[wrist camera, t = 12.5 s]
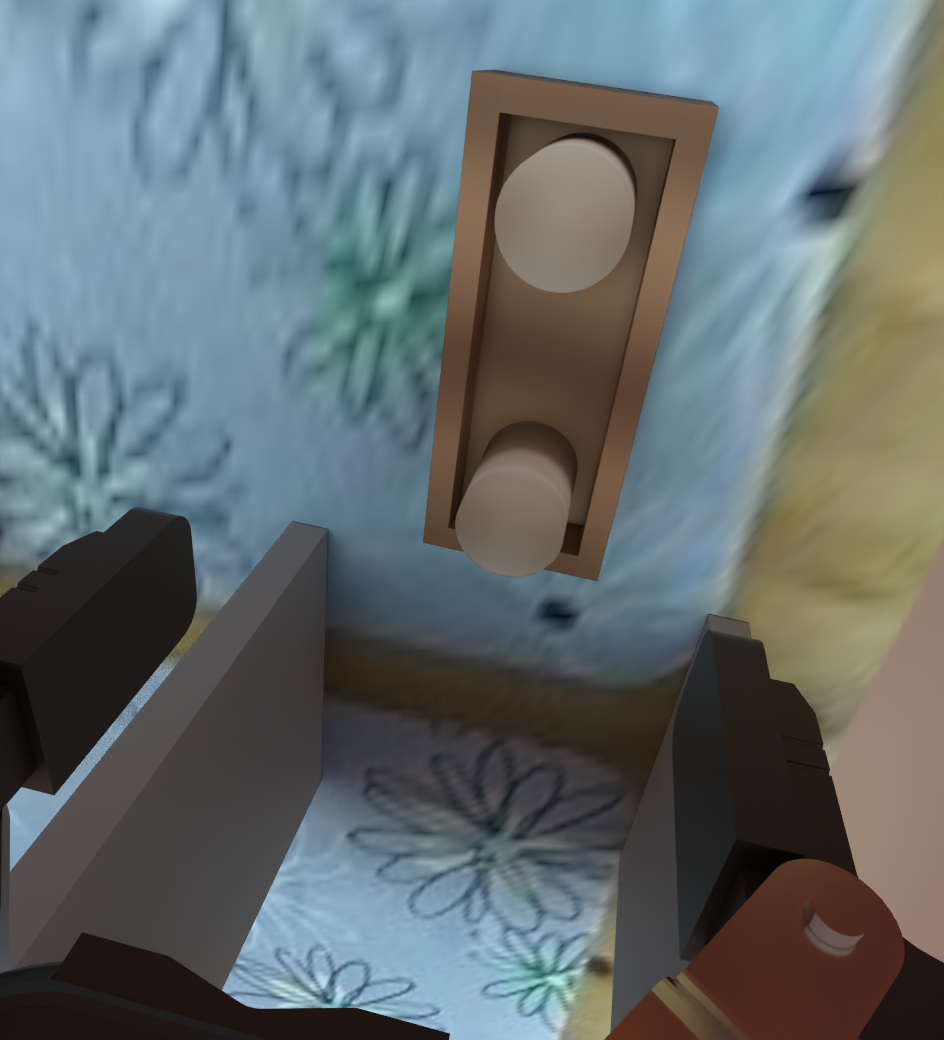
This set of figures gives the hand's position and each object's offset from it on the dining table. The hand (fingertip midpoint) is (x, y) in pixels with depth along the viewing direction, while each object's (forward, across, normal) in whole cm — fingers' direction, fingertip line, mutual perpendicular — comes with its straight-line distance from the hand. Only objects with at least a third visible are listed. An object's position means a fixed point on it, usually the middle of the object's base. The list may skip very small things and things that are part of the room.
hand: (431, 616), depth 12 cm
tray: (+15, 0, 0) cm, 15 cm away
